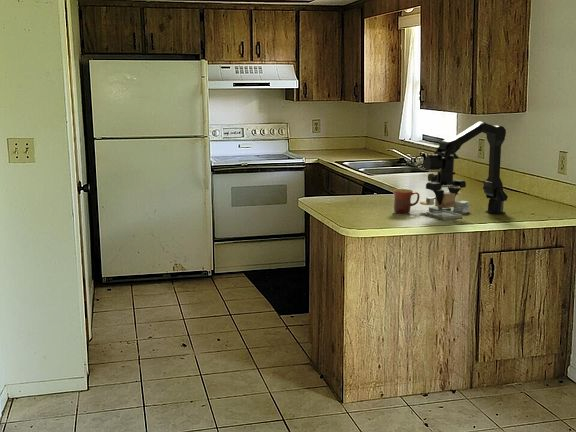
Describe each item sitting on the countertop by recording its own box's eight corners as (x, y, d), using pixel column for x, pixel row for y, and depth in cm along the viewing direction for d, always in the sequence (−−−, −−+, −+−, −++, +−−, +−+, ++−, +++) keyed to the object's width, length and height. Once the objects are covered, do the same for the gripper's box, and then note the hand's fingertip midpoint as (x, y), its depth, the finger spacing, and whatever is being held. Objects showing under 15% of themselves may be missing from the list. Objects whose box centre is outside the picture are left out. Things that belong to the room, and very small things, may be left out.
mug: (394, 214, 314) (395, 192, 312) (390, 210, 323) (391, 188, 321) (420, 214, 315) (421, 192, 313) (416, 211, 323) (417, 189, 321)
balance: (453, 207, 332) (454, 188, 330) (462, 209, 327) (464, 190, 325) (416, 211, 321) (417, 191, 319) (425, 214, 316) (426, 194, 314)
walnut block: (454, 206, 310) (455, 193, 308) (444, 208, 307) (445, 194, 305) (445, 204, 315) (445, 191, 313) (435, 205, 312) (435, 192, 310)
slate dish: (444, 213, 319) (445, 210, 319) (462, 217, 310) (462, 214, 309) (426, 215, 314) (426, 212, 313) (443, 220, 304) (443, 217, 304)
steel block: (459, 210, 325) (459, 200, 324) (468, 212, 322) (469, 201, 321) (453, 212, 322) (454, 201, 321) (463, 213, 318) (463, 203, 317)
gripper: (450, 165, 319) (448, 199, 322) (418, 168, 309) (416, 203, 313) (467, 168, 309) (465, 203, 312) (435, 171, 300) (433, 207, 303)
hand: (445, 204), depth 310 cm, fingers closed on walnut block, 6 cm apart
